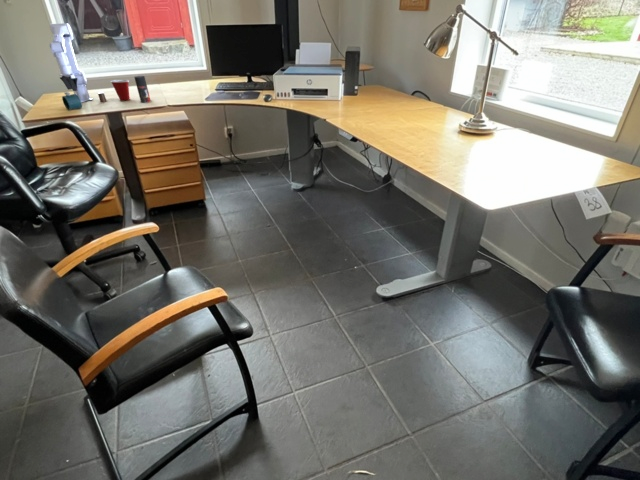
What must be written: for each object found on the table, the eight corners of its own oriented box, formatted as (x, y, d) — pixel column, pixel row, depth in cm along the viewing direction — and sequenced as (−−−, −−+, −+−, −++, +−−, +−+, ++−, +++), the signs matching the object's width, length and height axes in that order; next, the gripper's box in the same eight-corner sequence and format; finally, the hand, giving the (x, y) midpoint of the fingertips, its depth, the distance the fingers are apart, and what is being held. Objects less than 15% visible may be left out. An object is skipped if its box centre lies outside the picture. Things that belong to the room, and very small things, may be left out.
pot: (83, 108, 233) (71, 111, 228) (77, 106, 237) (65, 109, 233) (77, 91, 228) (65, 94, 223) (71, 90, 232) (59, 92, 227)
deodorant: (147, 102, 242) (140, 77, 234) (139, 102, 243) (132, 77, 235) (152, 100, 247) (146, 75, 238) (144, 100, 248) (137, 75, 239)
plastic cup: (137, 98, 253) (132, 78, 247) (125, 102, 245) (120, 82, 238) (124, 97, 256) (119, 78, 250) (112, 101, 248) (106, 81, 241)
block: (99, 101, 247) (96, 92, 244) (104, 100, 249) (102, 91, 246) (102, 102, 245) (99, 93, 242) (107, 101, 248) (104, 92, 245)
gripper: (51, 65, 223) (60, 89, 230) (61, 67, 215) (70, 92, 222) (64, 63, 227) (72, 87, 235) (74, 65, 219) (83, 90, 227)
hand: (72, 90), depth 229 cm, fingers open, 7 cm apart
